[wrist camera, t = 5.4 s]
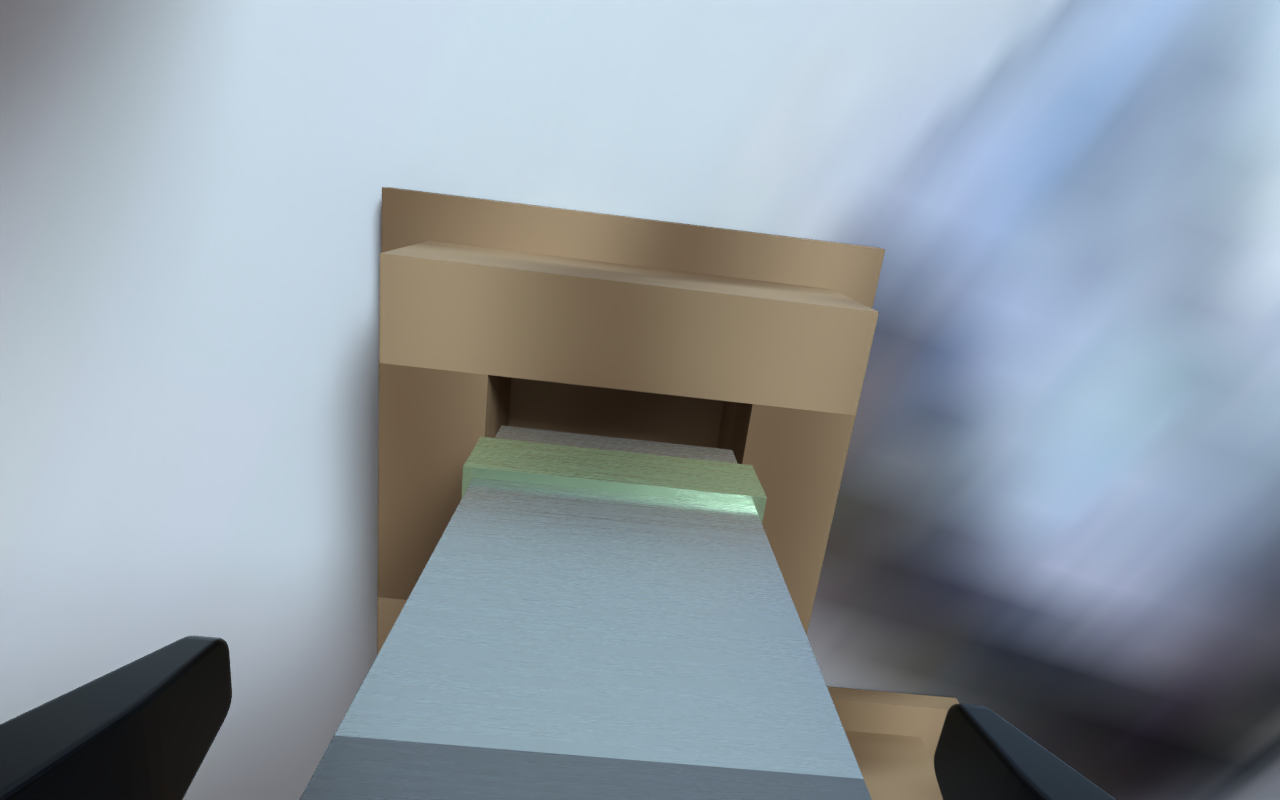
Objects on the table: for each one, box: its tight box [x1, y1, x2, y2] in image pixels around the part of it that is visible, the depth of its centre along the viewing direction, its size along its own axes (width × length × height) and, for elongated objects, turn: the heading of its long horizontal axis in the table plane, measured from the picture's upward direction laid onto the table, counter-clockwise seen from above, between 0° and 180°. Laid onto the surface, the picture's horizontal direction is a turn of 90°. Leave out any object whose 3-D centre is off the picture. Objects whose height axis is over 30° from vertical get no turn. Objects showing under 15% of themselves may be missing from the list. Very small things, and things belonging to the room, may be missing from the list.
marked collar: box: [377, 187, 885, 655], centre depth 15 cm, size 11×11×4 cm
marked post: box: [300, 425, 872, 800], centre depth 9 cm, size 4×4×8 cm
